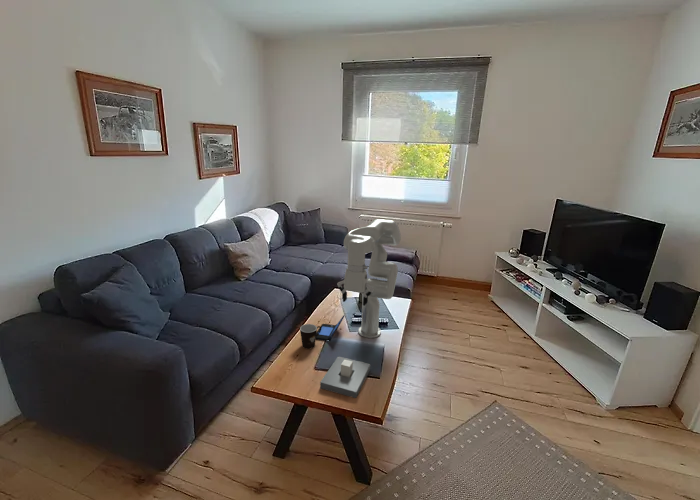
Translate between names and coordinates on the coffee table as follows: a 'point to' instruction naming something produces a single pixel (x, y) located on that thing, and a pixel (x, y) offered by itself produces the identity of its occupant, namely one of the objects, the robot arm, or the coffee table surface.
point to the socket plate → (345, 378)
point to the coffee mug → (309, 335)
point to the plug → (346, 368)
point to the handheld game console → (327, 331)
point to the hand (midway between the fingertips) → (354, 302)
